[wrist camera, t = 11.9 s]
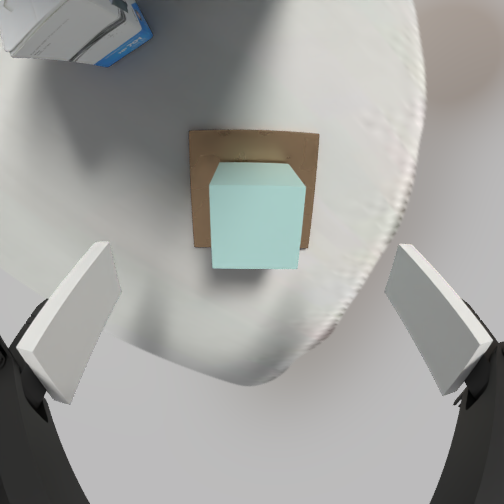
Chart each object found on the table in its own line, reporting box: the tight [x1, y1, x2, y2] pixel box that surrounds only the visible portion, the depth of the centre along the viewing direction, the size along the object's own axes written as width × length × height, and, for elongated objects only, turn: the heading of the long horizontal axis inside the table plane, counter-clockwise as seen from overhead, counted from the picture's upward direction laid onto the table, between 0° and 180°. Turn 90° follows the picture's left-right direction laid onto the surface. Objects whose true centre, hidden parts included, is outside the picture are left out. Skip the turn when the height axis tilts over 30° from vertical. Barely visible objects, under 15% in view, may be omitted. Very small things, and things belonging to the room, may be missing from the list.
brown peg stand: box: [189, 130, 319, 248], centre depth 20 cm, size 10×10×7 cm
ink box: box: [0, 0, 153, 67], centre depth 10 cm, size 9×5×12 cm, turn 24°
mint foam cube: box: [209, 162, 306, 269], centre depth 19 cm, size 5×5×7 cm
